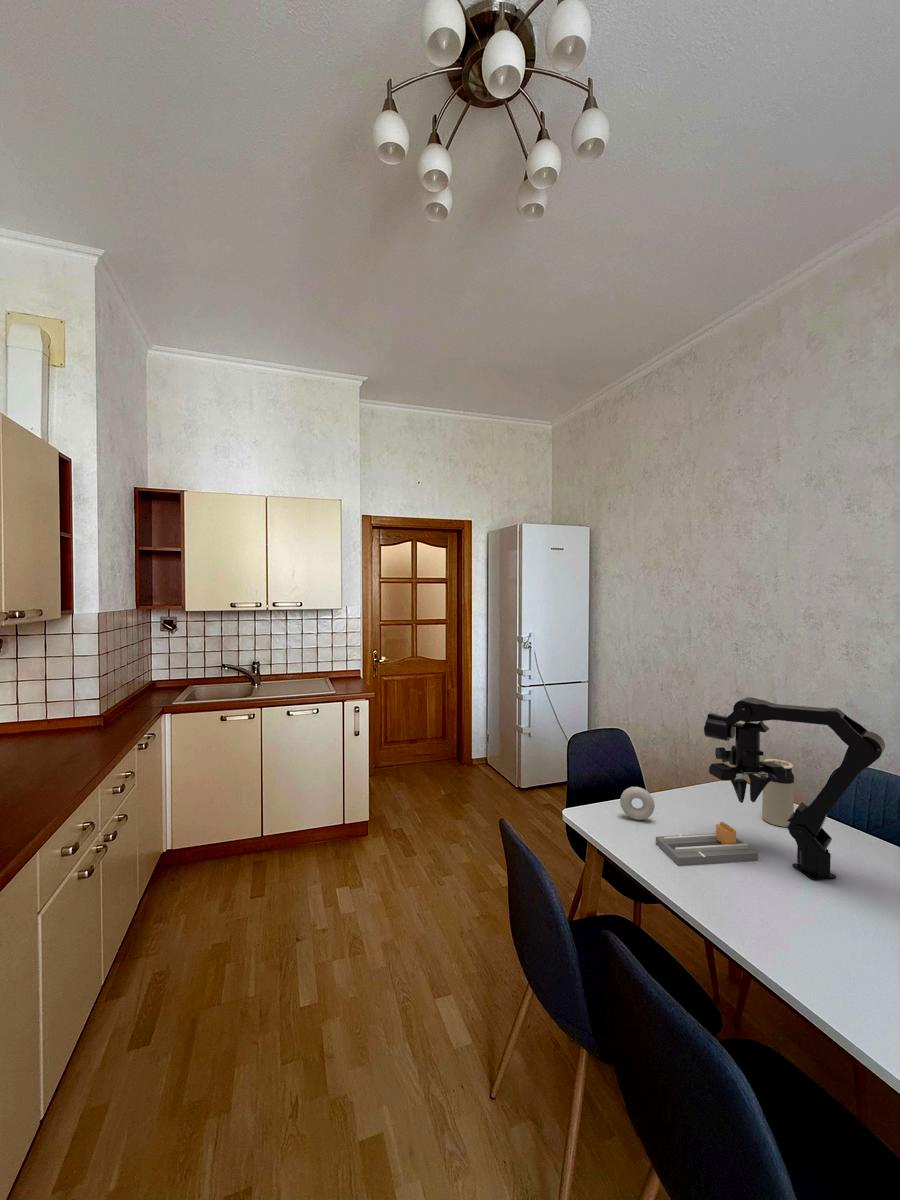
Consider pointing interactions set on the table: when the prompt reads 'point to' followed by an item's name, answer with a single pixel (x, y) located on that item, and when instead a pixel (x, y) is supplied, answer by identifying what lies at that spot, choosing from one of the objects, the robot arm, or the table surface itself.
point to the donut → (632, 811)
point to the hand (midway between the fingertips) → (746, 801)
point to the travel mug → (779, 796)
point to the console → (704, 849)
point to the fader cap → (725, 834)
